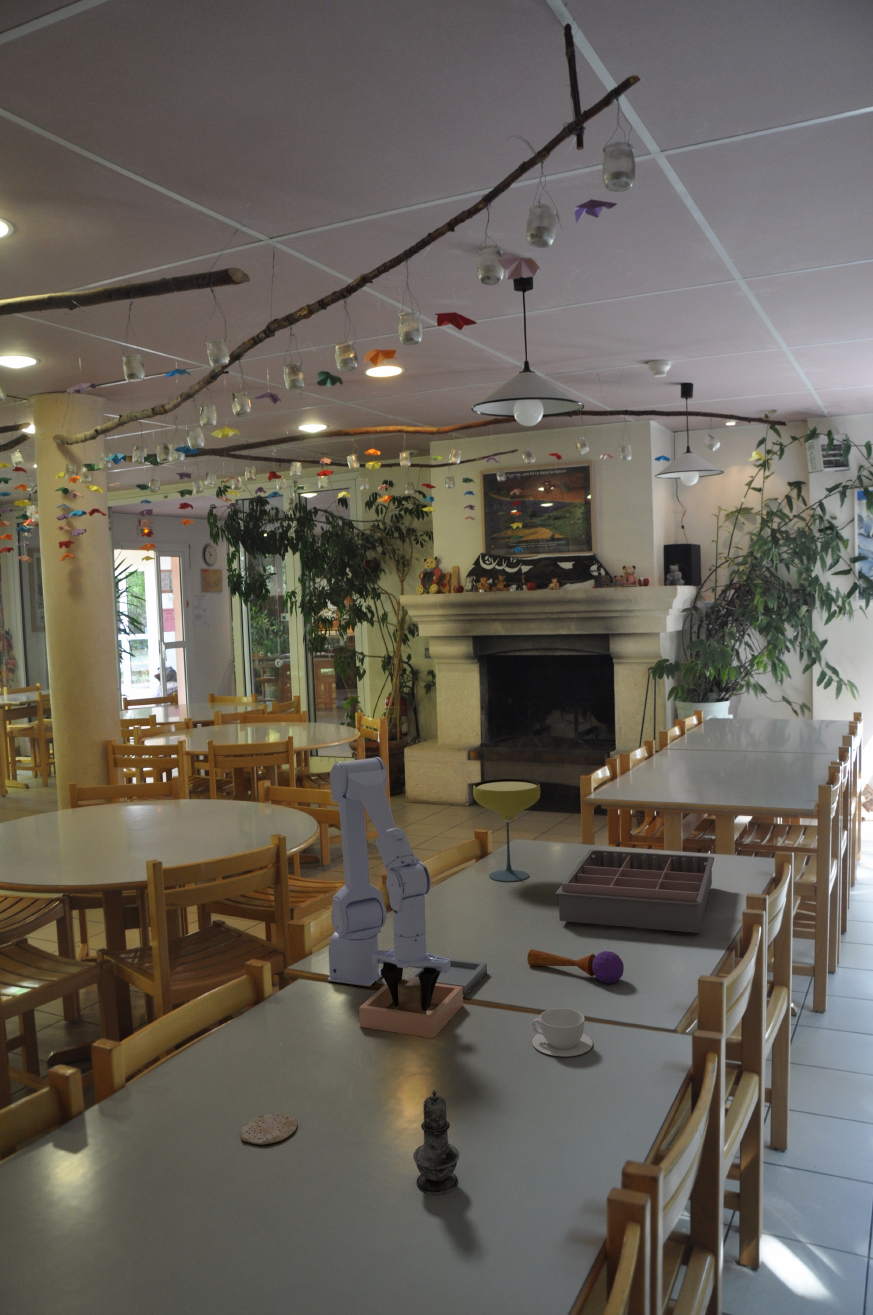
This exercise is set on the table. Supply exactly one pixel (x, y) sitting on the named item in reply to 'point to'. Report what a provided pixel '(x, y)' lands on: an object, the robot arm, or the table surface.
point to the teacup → (561, 1033)
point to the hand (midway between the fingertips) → (412, 1006)
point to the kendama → (583, 964)
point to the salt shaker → (436, 1150)
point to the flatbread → (268, 1128)
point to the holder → (409, 1022)
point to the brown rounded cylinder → (410, 996)
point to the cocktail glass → (507, 811)
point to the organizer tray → (637, 890)
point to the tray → (460, 974)
